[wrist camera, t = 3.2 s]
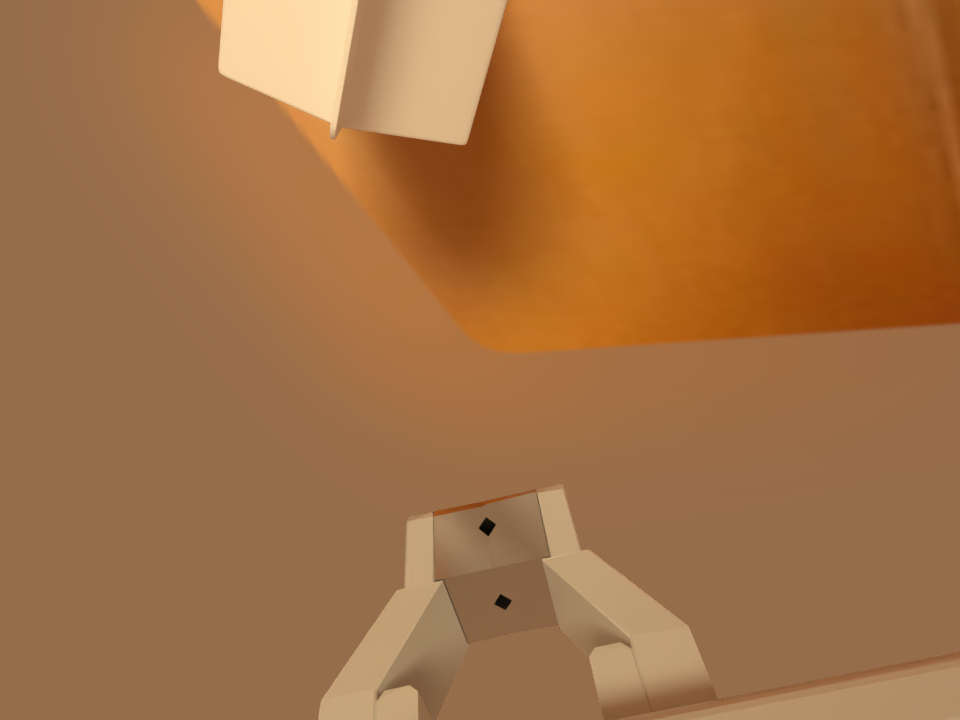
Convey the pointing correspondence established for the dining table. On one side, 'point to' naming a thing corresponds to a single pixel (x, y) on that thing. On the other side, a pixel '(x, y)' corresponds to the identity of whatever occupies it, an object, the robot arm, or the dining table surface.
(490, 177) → the dining table surface
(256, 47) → the milk
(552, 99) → the dining table surface
